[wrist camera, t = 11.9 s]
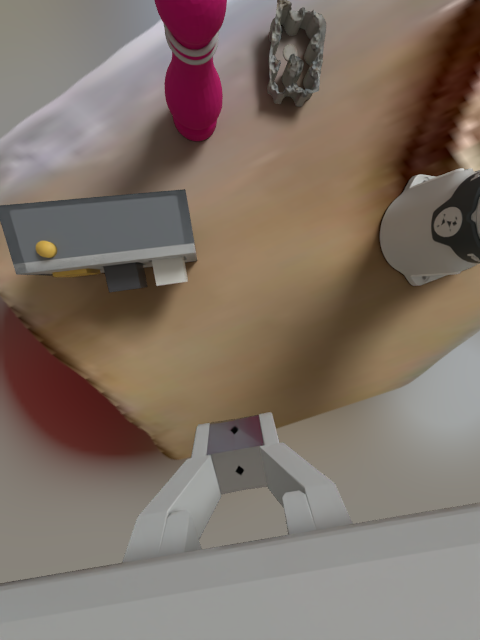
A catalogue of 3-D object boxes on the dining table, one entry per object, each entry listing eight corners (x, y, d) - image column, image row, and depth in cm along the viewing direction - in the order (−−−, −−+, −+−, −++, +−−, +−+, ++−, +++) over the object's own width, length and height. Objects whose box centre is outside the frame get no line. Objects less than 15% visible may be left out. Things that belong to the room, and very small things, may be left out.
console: (190, 217, 37) (184, 187, 25) (197, 260, 38) (195, 251, 26) (64, 230, 35) (-10, 204, 23) (76, 276, 36) (11, 274, 24)
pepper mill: (196, 156, 36) (191, 11, 17) (158, 115, 34) (103, -100, 15) (230, 121, 36) (263, -67, 17) (193, 77, 34) (183, -187, 15)
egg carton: (268, 20, 35) (277, -13, 31) (317, 33, 36) (331, 2, 32) (262, 103, 37) (269, 81, 33) (309, 112, 38) (321, 92, 34)
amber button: (93, 242, 31) (78, 236, 27) (100, 273, 32) (87, 272, 28) (63, 245, 31) (43, 240, 27) (71, 277, 32) (53, 276, 28)
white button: (182, 252, 33) (180, 248, 29) (188, 281, 34) (186, 281, 30) (156, 255, 33) (150, 252, 29) (161, 285, 33) (156, 285, 30)
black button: (141, 257, 32) (133, 254, 29) (147, 287, 33) (140, 287, 29) (113, 260, 32) (101, 257, 28) (120, 290, 33) (109, 292, 29)
